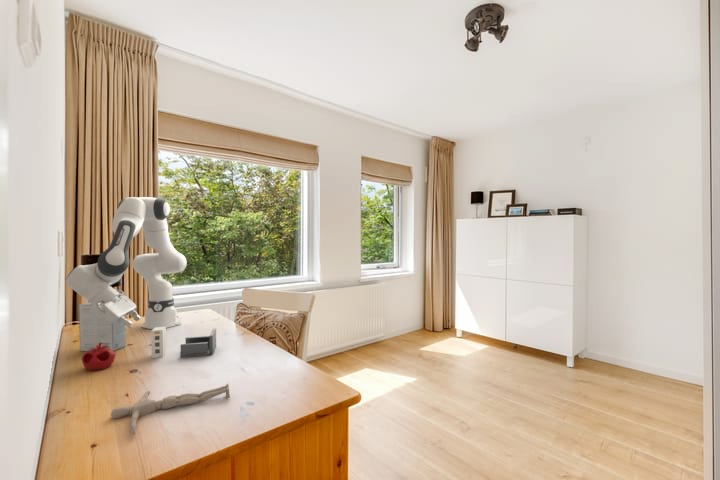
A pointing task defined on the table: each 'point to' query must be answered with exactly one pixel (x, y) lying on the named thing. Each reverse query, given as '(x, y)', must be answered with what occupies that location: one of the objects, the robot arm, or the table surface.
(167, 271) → the robot arm
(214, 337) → the bracket
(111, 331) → the hard drive box
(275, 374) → the table surface
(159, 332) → the ivory rectangular block
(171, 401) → the artist's mannequin
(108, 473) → the table surface
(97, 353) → the pomegranate
